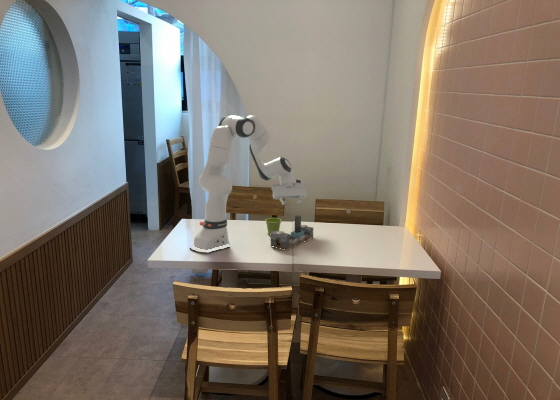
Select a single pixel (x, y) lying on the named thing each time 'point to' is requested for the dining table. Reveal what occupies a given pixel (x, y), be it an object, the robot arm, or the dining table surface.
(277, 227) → the plant pot
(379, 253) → the dining table surface
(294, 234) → the carriage
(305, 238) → the grey long blocky piece
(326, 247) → the dining table surface
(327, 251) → the dining table surface
